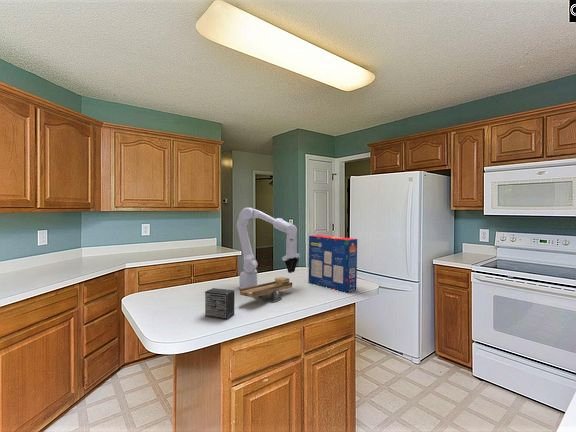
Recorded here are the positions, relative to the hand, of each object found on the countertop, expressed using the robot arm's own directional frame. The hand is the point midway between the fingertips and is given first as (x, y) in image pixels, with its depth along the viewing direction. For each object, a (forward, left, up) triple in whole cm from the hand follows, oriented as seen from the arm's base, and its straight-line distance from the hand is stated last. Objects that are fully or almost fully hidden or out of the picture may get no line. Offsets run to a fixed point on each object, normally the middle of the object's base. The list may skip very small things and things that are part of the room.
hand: (291, 272), depth 163 cm
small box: (-2, -50, -10) cm, 50 cm away
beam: (0, -21, -5) cm, 21 cm away
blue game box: (+15, +18, -10) cm, 26 cm away
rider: (0, -9, -5) cm, 10 cm away
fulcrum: (0, -21, -9) cm, 23 cm away
